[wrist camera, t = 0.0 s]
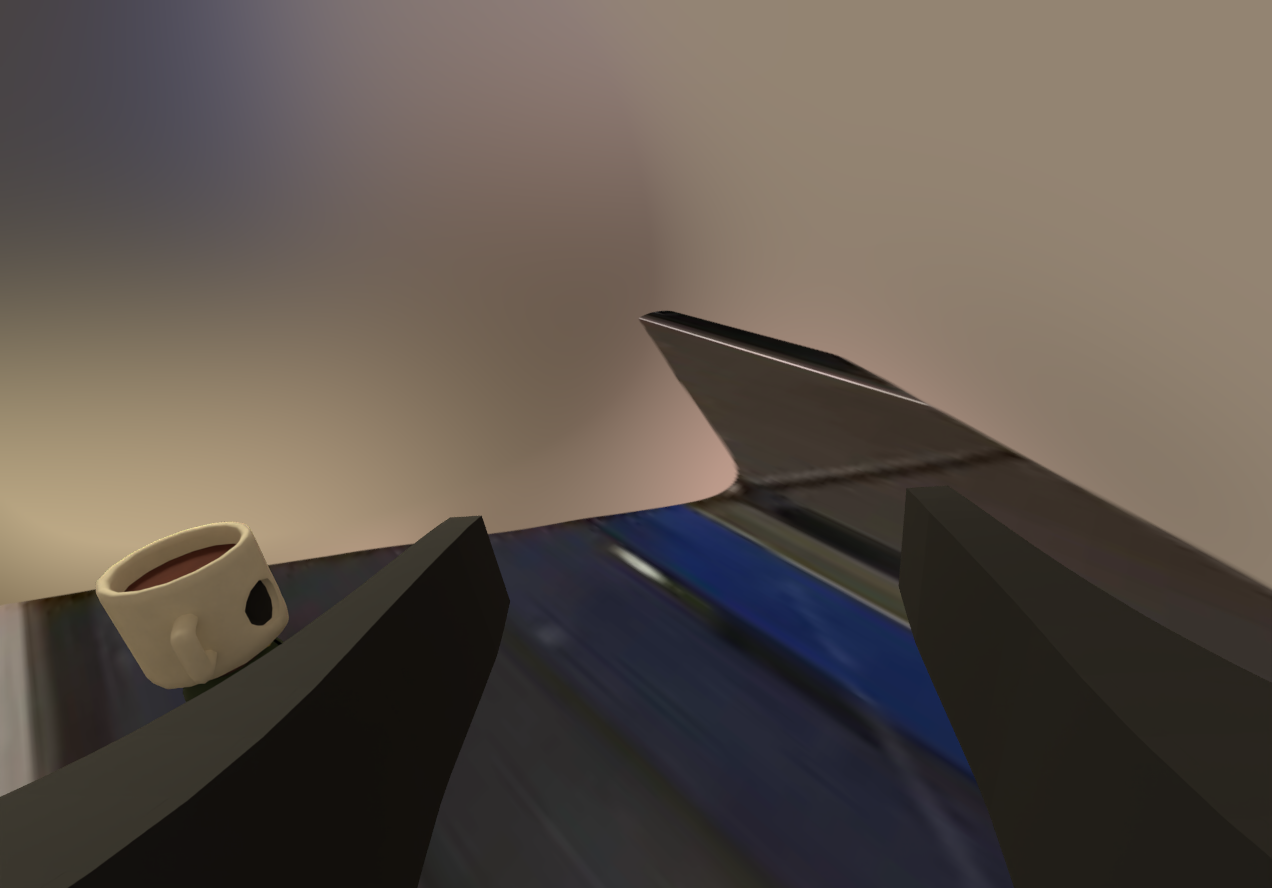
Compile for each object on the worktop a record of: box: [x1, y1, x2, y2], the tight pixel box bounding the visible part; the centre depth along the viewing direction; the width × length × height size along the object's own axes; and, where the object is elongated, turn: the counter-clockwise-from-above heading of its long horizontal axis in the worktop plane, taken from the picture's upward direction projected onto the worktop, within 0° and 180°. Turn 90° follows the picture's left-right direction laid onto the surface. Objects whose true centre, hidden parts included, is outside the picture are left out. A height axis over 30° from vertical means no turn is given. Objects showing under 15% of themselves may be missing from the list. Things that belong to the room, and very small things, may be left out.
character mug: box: [96, 522, 289, 702], centre depth 34 cm, size 11×7×13 cm, turn 30°
